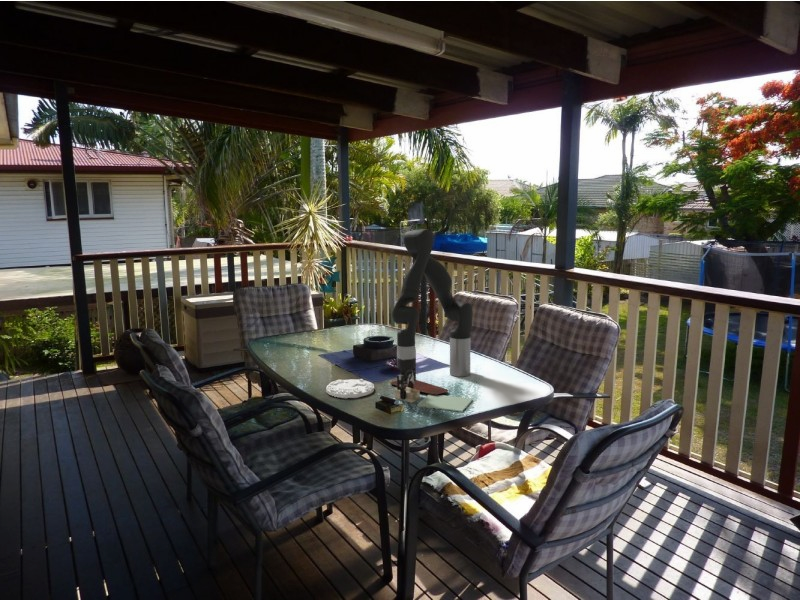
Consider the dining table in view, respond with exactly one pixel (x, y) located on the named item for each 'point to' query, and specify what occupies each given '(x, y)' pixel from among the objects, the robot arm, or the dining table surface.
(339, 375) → the dining table surface
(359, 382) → the embossed medallion
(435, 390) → the wooden tablet
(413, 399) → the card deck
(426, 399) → the mat
